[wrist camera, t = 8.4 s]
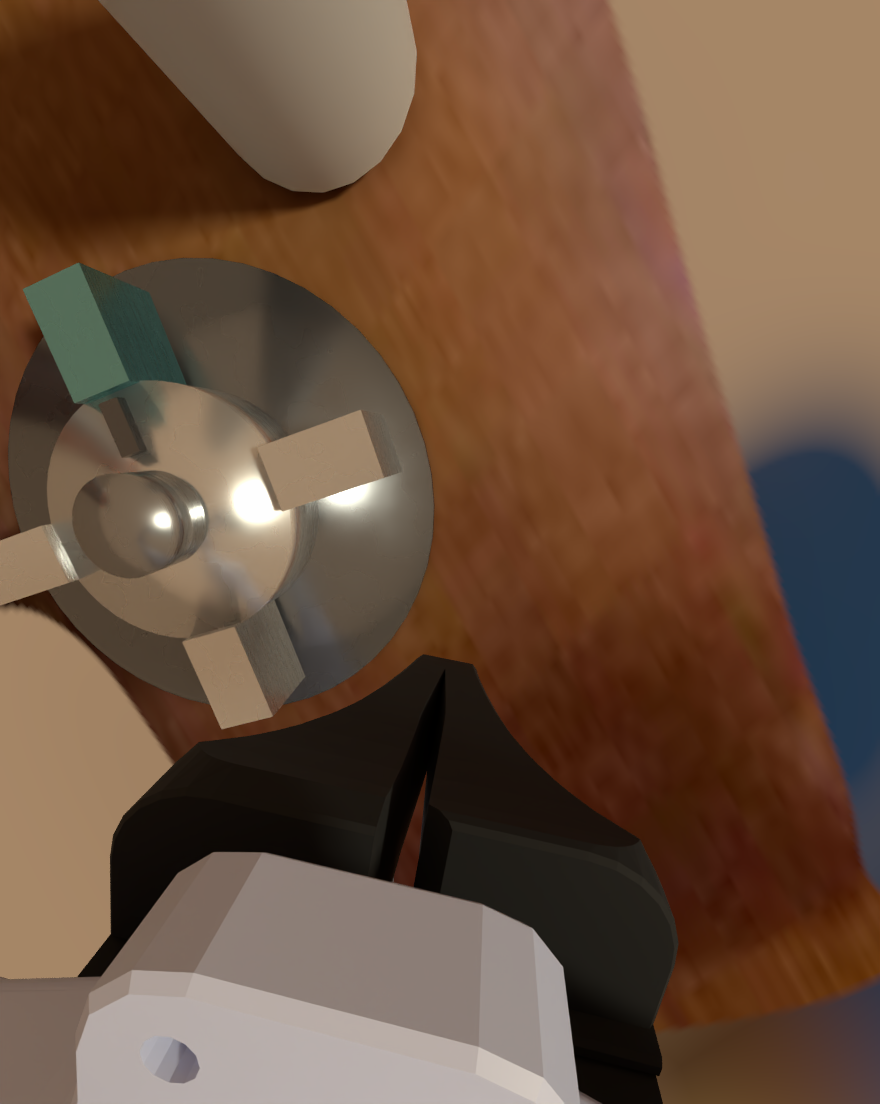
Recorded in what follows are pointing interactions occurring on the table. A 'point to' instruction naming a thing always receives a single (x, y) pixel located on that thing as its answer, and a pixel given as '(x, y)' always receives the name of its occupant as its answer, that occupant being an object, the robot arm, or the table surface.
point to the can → (287, 78)
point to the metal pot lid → (208, 468)
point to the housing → (175, 510)
